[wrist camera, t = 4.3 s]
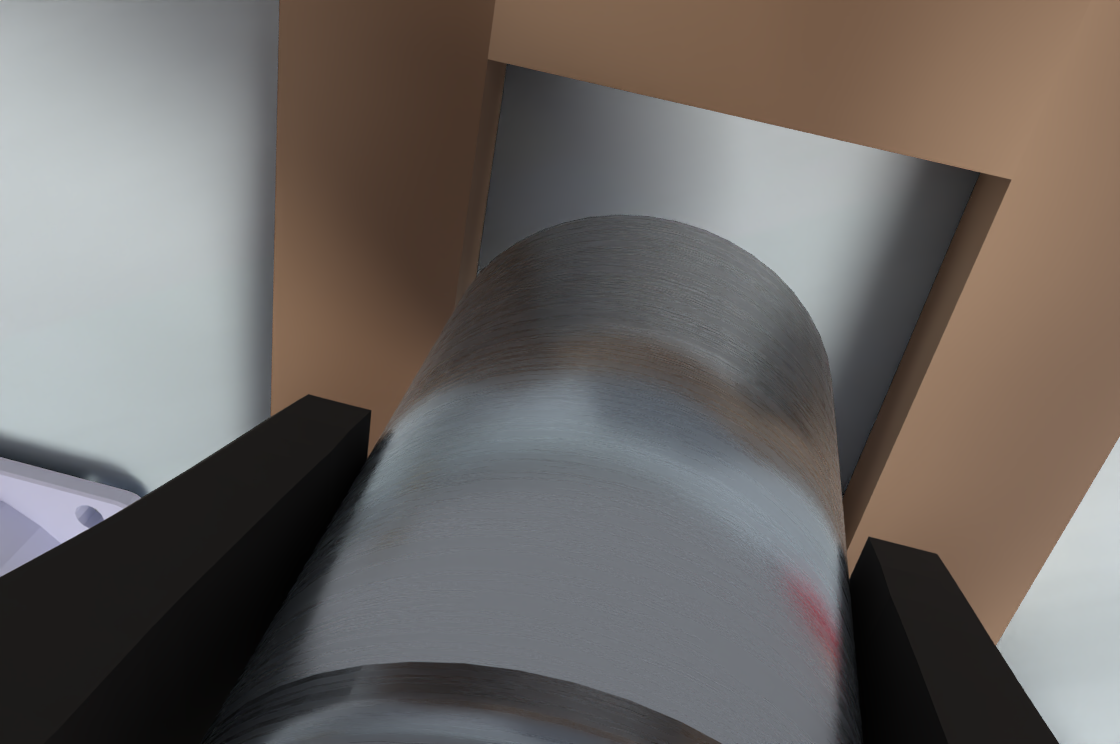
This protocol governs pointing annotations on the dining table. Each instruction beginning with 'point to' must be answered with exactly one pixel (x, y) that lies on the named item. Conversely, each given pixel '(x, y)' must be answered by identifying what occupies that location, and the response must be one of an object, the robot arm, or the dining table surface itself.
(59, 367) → the dining table surface
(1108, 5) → the collar
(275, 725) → the grey metal cylinder
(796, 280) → the dining table surface
